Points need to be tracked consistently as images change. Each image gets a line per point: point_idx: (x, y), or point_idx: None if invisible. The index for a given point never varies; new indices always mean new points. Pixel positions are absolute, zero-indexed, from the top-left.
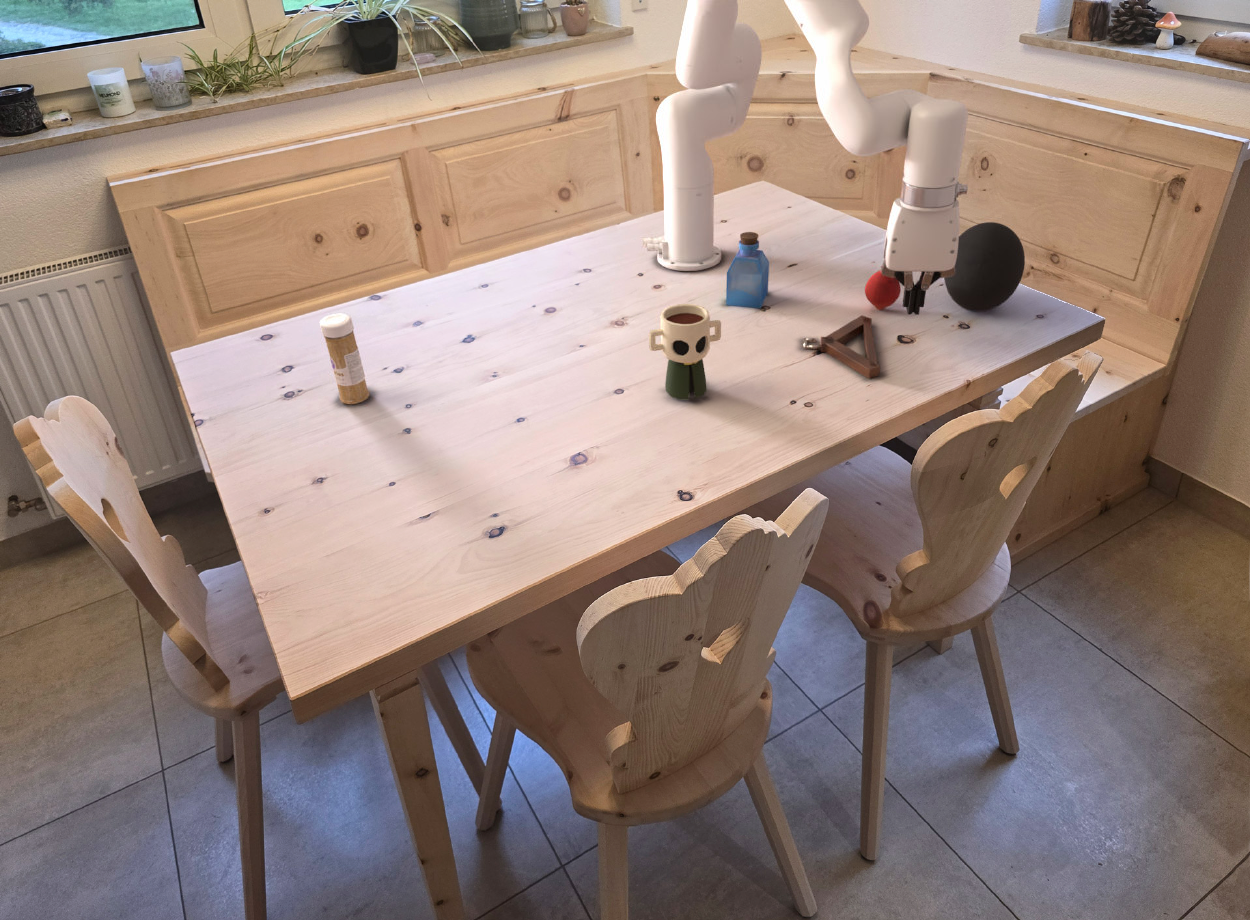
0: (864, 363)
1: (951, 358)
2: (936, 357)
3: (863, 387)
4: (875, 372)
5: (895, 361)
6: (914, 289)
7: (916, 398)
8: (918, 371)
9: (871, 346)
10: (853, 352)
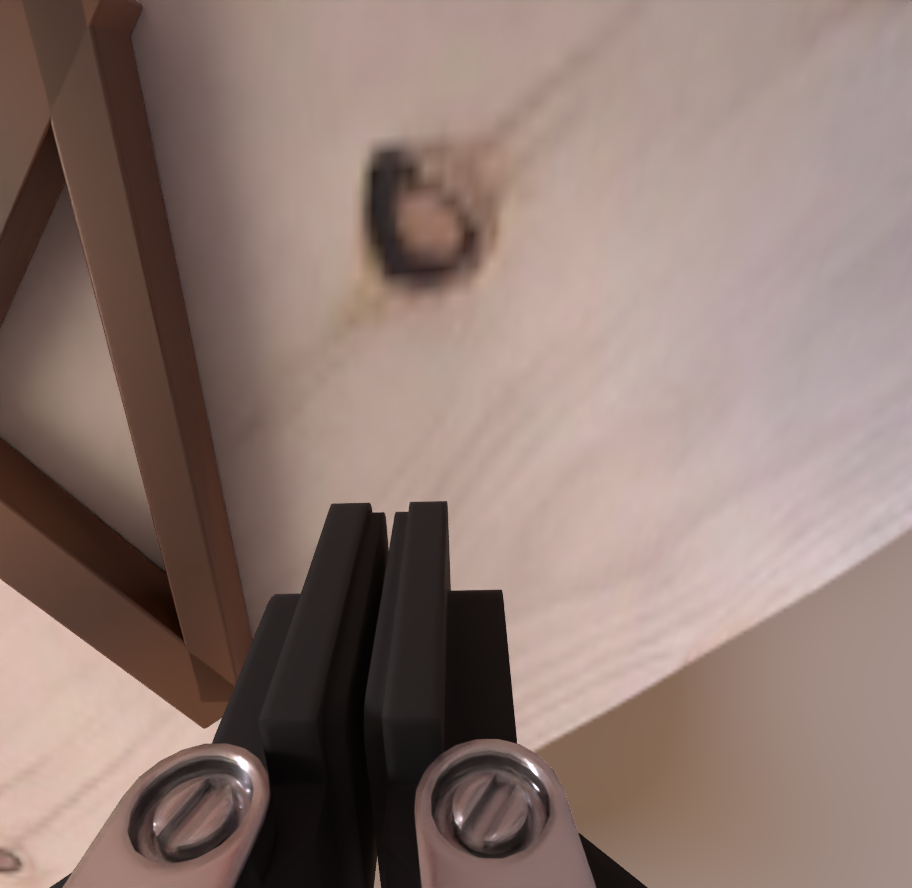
0: (164, 680)
1: (684, 459)
2: (596, 455)
3: None
4: None
5: None
6: (350, 876)
7: None
8: None
9: (176, 497)
10: (77, 576)
